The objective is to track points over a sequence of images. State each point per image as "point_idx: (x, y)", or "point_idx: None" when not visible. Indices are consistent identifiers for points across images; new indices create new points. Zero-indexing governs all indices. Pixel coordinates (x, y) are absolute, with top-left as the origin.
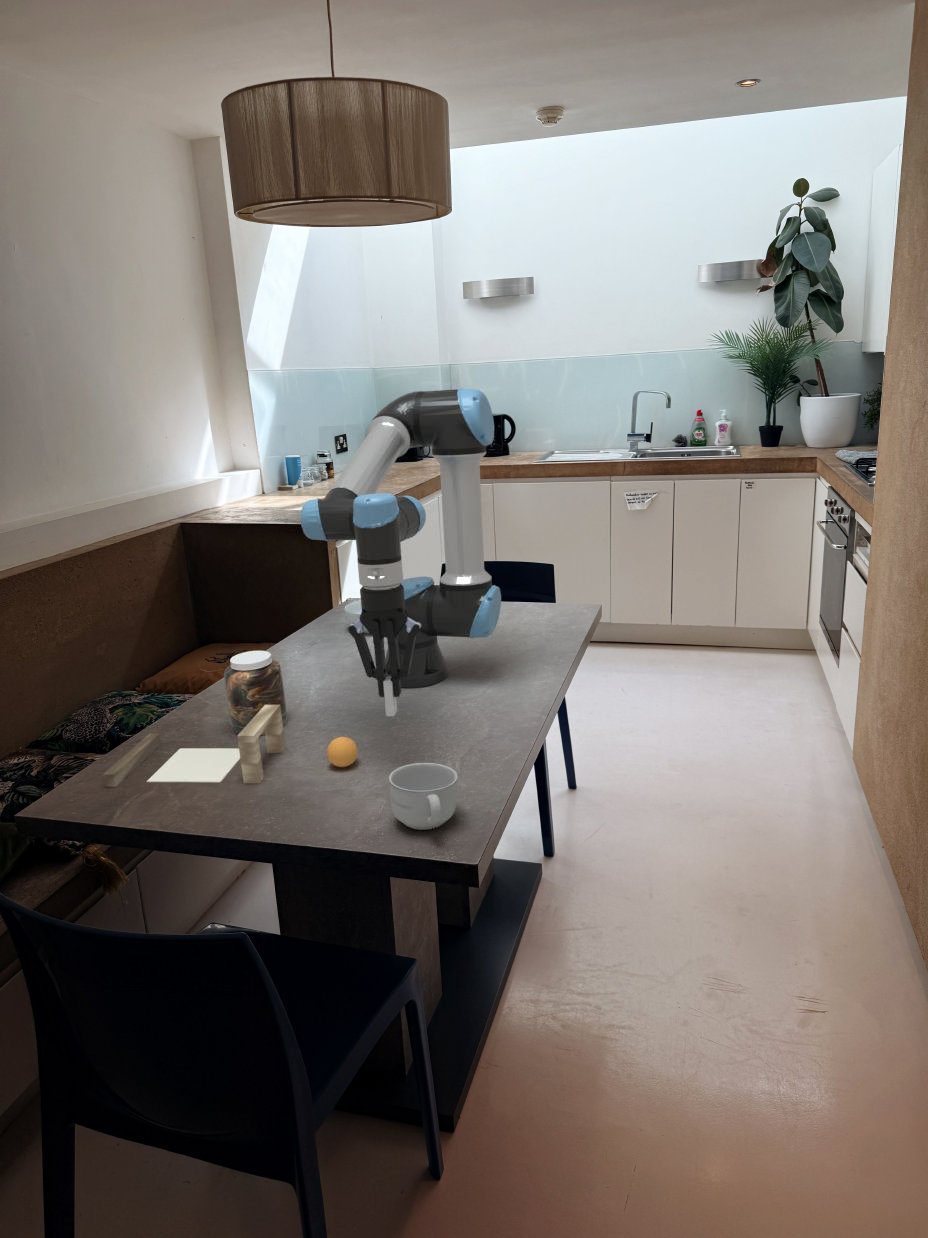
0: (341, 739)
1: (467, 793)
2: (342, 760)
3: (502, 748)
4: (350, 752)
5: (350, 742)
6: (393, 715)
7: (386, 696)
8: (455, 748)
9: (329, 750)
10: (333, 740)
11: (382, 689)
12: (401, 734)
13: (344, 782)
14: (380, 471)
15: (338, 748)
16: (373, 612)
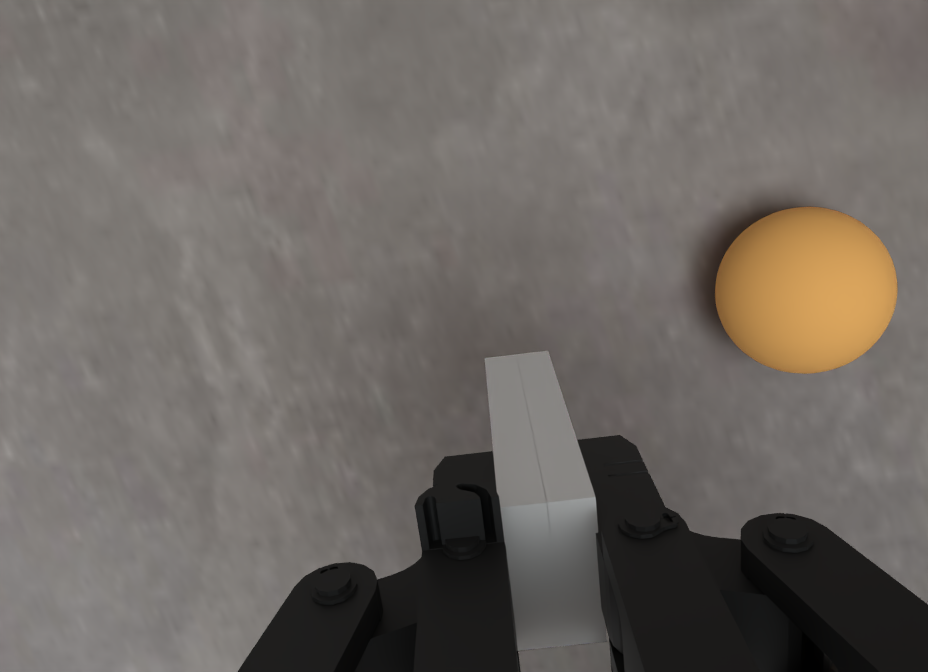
0: (834, 299)
1: (43, 58)
2: (777, 213)
3: (62, 535)
4: (748, 251)
5: (771, 304)
6: (490, 360)
7: (551, 422)
8: (278, 511)
9: (878, 239)
10: (882, 300)
11: (605, 476)
12: None
13: (715, 90)
14: None
15: (827, 236)
16: None
